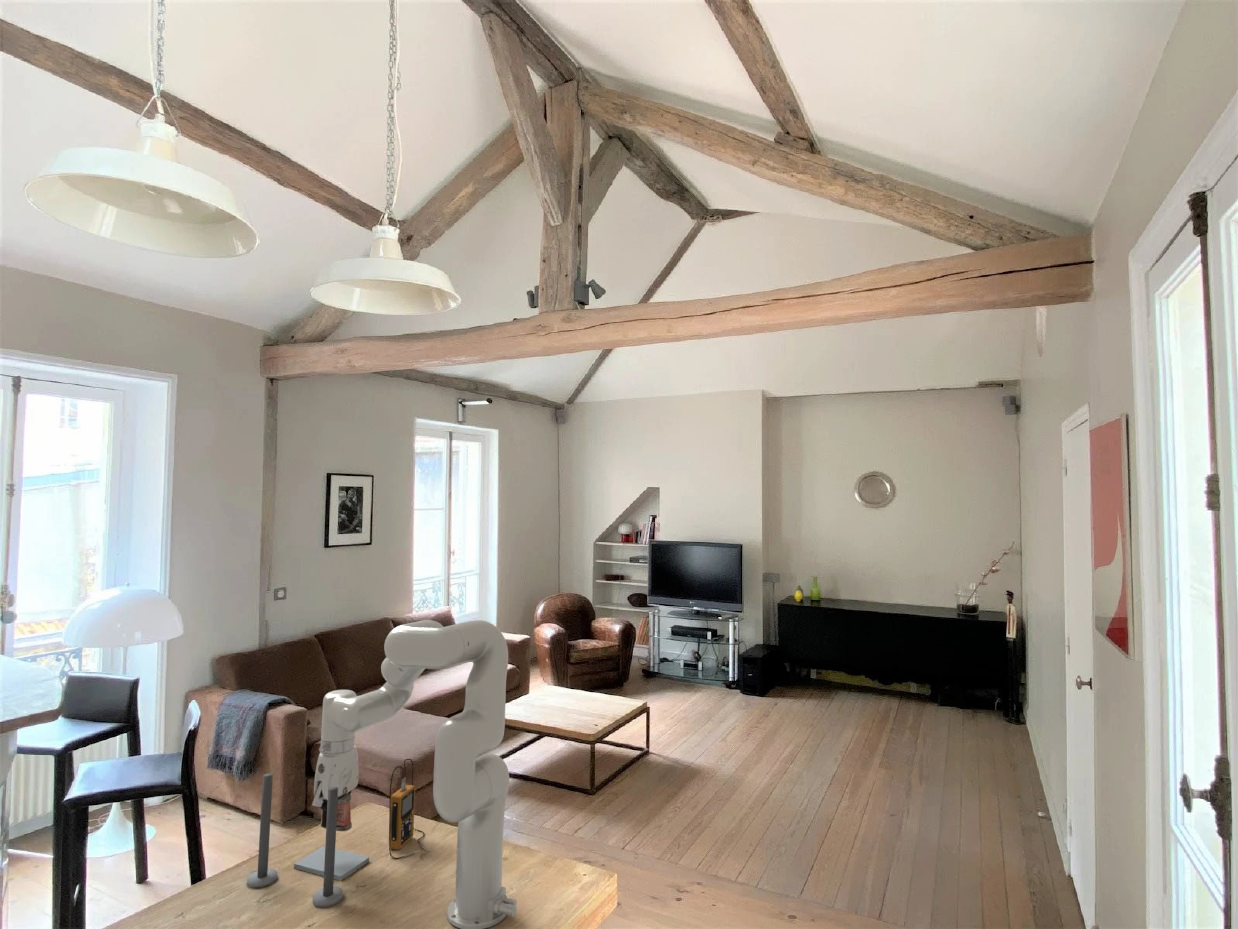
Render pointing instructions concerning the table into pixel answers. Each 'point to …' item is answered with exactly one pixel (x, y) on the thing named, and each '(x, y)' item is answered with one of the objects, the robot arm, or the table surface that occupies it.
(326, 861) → the post
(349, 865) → the mat
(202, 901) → the table surface
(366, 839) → the table surface
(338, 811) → the lighter
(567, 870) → the table surface
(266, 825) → the far cord post
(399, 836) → the multimeter
